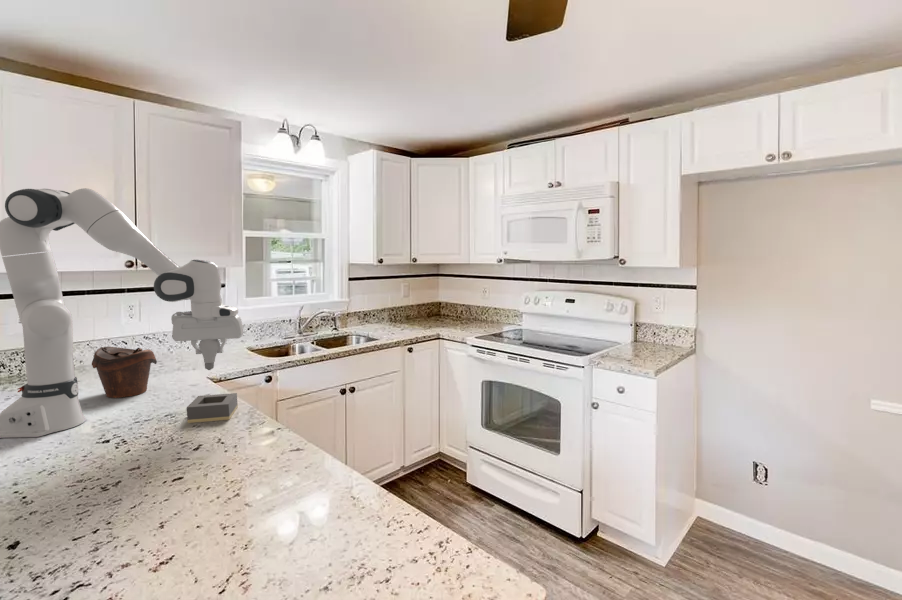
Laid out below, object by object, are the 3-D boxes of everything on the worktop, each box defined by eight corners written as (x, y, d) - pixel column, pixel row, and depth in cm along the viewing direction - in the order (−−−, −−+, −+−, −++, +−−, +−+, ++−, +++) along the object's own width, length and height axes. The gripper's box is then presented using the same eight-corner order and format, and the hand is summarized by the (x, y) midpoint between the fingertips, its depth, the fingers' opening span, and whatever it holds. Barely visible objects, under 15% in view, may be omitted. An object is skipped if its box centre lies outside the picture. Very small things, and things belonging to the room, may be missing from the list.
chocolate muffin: (160, 393, 173) (156, 346, 171) (93, 404, 162) (88, 354, 160) (158, 383, 188) (154, 340, 186) (96, 392, 177) (92, 346, 175)
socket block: (187, 422, 143) (186, 407, 142) (199, 410, 154) (198, 395, 154) (229, 419, 146) (228, 404, 145) (237, 407, 157) (236, 393, 157)
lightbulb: (211, 373, 145) (211, 338, 144) (193, 371, 146) (194, 337, 145) (224, 369, 151) (224, 335, 150) (207, 367, 152) (208, 334, 151)
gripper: (167, 313, 141) (170, 357, 143) (239, 310, 146) (241, 353, 147) (174, 310, 147) (177, 353, 149) (243, 308, 152) (245, 349, 153)
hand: (209, 353), depth 148 cm, fingers closed on lightbulb, 5 cm apart
